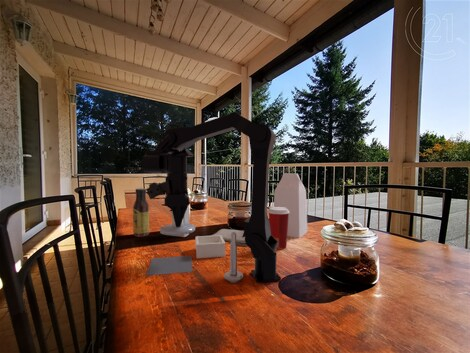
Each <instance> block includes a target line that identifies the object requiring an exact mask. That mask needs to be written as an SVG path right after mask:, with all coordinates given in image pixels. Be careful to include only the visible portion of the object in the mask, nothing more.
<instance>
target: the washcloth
mask: <svg viewBox="0 0 470 353" xmlns="http://www.w3.org/2000/svg"><path fill="white" fill-rule="evenodd" d="M232 232H234V233H236V242H237V243H236V244H237V246H243V247H248V246H247V245H246V243H245V237H242V236H243V234H244V230H237V229H227V228H221V229H220V230H217V232H215V233H213V234H212V235H211V236H215V235H222V237H223V239H224V241H225V242H228V243H229V244H230V243H231V233H232Z"/></svg>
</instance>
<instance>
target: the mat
mask: <svg viewBox="0 0 470 353" xmlns="http://www.w3.org/2000/svg"><path fill="white" fill-rule="evenodd" d="M192 259H193V258H192V255H183V256H182V255H181V256H180V255H179V256H169V257H168V256H166V257H153V258H151V260H150V262H149V263H150V264H149V265H148V268H147V271H146V274H145V276H147V277H149V276H157V275H159V276H160V275H169V274H180V273H181V274H183V273H184V274H185V273H192V272H193V260H192Z"/></svg>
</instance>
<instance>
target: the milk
mask: <svg viewBox="0 0 470 353" xmlns="http://www.w3.org/2000/svg"><path fill="white" fill-rule="evenodd" d="M273 198H274V199H273V207H284V208H287V209H288V210H289V212H290V213H289V216H288V232H287V237H290V238H297V239H300V238H302V237H303V236H304V235H306V234H307V233H308V210H307V209H308V208H307V207H308V206H307V190H306V187H305V186H304V184H303V182H302V181H301V179H300V176H299V174H298V173H295V172H294V173H291V172H290V173H288V172H286V173H285V172H284V173H283V175H282V176H281V179H280V181H279V183H278V184H277V186H276V188H275V190H274V195H273Z"/></svg>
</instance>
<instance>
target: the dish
mask: <svg viewBox="0 0 470 353" xmlns="http://www.w3.org/2000/svg"><path fill="white" fill-rule="evenodd" d="M195 257H196V259H207V258H221V257H222V258H223V257H226V241H224V239H223V237H222V235H215V236H212V235H201V236H199V235H197V236H195Z"/></svg>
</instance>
